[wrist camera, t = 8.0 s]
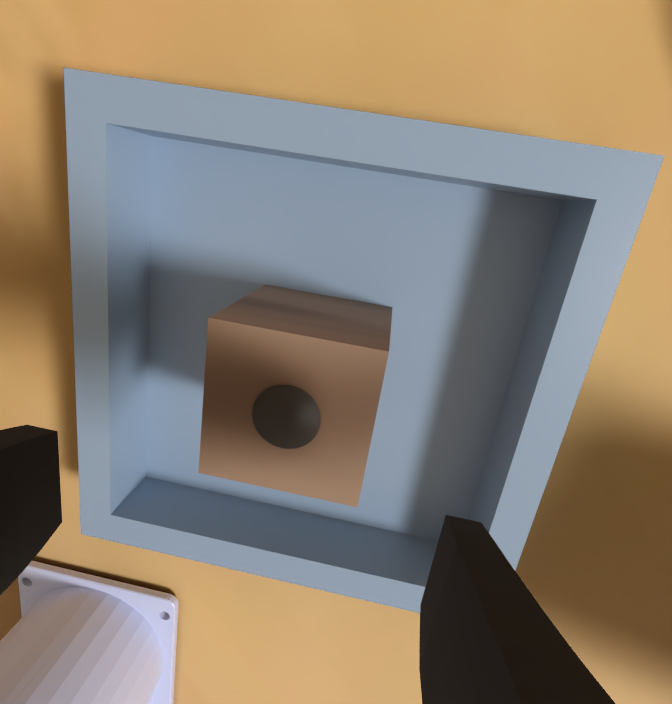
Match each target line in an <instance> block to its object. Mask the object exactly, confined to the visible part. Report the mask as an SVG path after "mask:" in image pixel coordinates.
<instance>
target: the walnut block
mask: <svg viewBox="0 0 672 704" xmlns="http://www.w3.org/2000/svg"><path fill="white" fill-rule="evenodd" d="M392 308H393V307H387V306H382V305H376V304H371V303H365V302H360V301H354V300H349V299H343V298H338V297H332V296H326V295H321V294H315V293H310V292H304V291H299V290H293V289H288V288H282V287H276V286H271V285H264V286H262V287H260V288H259V289H257V290H255V291H253V292H252V293H250V294H248V295H246V296H245V297H243V298H241V299H240V300H238V301H236V302H234V303H233V304H231V305H229V306H228V307H226V308H224V309H222V310H221V311H219V312H217V313H215V314H214V315H212V316H210V317H209V318H208V330H207V345H206V361H205V377H204V393H203V409H202V425H201V441H200V456H199V472H198V473H201V474H206V475H211V476H215V477H220V478H224V479H229V480H234V481H238V482H243V483H247V484H252V485H257V486H261V487H266V488H270V489H275V490H280V491H284V492H289V493H294V494H298V495H303V496H307V497H312V498H317V499H321V500H326V501H330V502H335V503H340V504H344V505H349V506H353V507H358V503H359V498H360V493H361V488H362V483H363V478H364V473H365V468H366V463H367V458H368V453H369V448H370V444H371V439H372V434H373V429H374V424H375V419H376V414H377V409H378V404H379V399H380V394H381V389H382V384H383V379H384V374H385V369H386V365H387V360H388V355H389V346H390V334H391V321H392Z"/></svg>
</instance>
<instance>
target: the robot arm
mask: <svg viewBox="0 0 672 704" xmlns="http://www.w3.org/2000/svg"><path fill="white" fill-rule="evenodd" d="M61 523H62V512H61V493H60V473H59V454H58V434H57V431H53V430H49V429H44V428H39V427H35V426H30V425H24V426H19V427H13V428H9V429H4V430H0V595H1V594H2V593H3V592H4V591H5V590H6V589H7V588H8V586H9V585H10V584H11V583H12V582H13V581H14V580H15V579H16V578H17V577H18V583H19V594H20V604H21V615H22V618H21V619H20V620H19V621H18V622H17V623H16V624H15V626H14V627H13V628H12V629H11V630H10V631H9V632H8V633H7V634H6V635H5V636H4V637H3V639H2V640H1V641H0V704H173V698H174V679H175V660H176V641H177V622H178V600H177V599H176V597H175V596H173V595H172V594H169V593H165V592H161V591H156V590H152V589H148V588H144V587H140V586H136V585H132V584H127V583H123V582H119V581H115V580H111V579H107V578H103V577H98V576H94V575H90V574H86V573H82V572H78V571H73V570H69V569H65V568H61V567H57V566H53V565H49V564H44V563H40V562H36V561H32V560H33V559H34V557H35V556H36V555H37V554H38V552H39V551H40V550H41V549H42V548H43V546H44V545H45V544H46V542H47V541H48V540H49V538H50V537H51V536H52V534H53V533H54V532H55V530H56V529H57V528H58V527H59V525H60V524H61ZM420 679H421V691H422V703H423V704H615V703H614V701H613V700H612V699H611V698H610V696H609V695H608V694H607V693H606V691H605V690H604V689H603V688H602V686H601V685H600V684H599V683H598V682H597V680H596V679H595V678H594V677H593V675H592V674H591V673H590V672H589V670H588V669H587V668H586V667H585V665H584V664H583V663H582V661H581V660H580V659H579V658H578V656H577V655H576V654H575V652H574V651H573V650H572V648H571V647H570V646H569V645H568V643H567V642H566V641H565V639H564V638H563V637H562V635H561V634H560V633H559V631H558V630H557V629H556V627H555V626H554V625H553V623H552V622H551V621H550V619H549V618H548V616H547V615H546V614H545V612H544V611H543V610H542V608H541V607H540V606H539V604H538V603H537V601H536V600H535V599H534V597H533V596H532V594H531V593H530V592H529V590H528V589H527V587H526V586H525V585H524V583H523V582H522V580H521V579H520V577H519V576H518V574H517V573H516V572H515V570H514V569H513V567H512V566H511V564H510V563H509V562H508V560H507V559H506V557H505V556H504V554H503V553H502V551H501V550H500V548H499V547H498V546H497V544H496V543H495V541H494V540H493V538H492V537H491V535H490V534H489V532H488V531H487V530H486V528H485V527H484V525H483V524H482V523H481V522H477V521H473V520H468V519H463V518H459V517H454V516H449V515H446V516H445V519H444V523H443V526H442V530H441V533H440V537H439V540H438V544H437V548H436V551H435V555H434V558H433V562H432V565H431V569H430V573H429V576H428V580H427V583H426V587H425V590H424V594H423V598H422V601H421V605H420Z"/></svg>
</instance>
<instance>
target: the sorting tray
mask: <svg viewBox="0 0 672 704" xmlns="http://www.w3.org/2000/svg"><path fill="white" fill-rule="evenodd" d="M64 89H65V116H66V143H67V170H68V197H69V224H70V252H71V279H72V306H73V333H74V360H75V387H76V414H77V441H78V468H79V495H80V522H81V534H83V535H88V536H92V537H96V538H101V539H105V540H109V541H113V542H118V543H122V544H126V545H130V546H135V547H139V548H143V549H148V550H152V551H156V552H160V553H165V554H169V555H173V556H178V557H182V558H186V559H190V560H195V561H199V562H203V563H208V564H212V565H216V566H220V567H225V568H229V569H233V570H237V571H242V572H246V573H250V574H255V575H259V576H263V577H267V578H272V579H276V580H280V581H285V582H289V583H293V584H297V585H302V586H306V587H310V588H314V589H319V590H323V591H327V592H332V593H336V594H340V595H344V596H349V597H353V598H357V599H362V600H366V601H370V602H374V603H379V604H383V605H387V606H392V607H396V608H400V609H404V610H409V611H413V612H417V613H420V605H421V601H422V598H423V594H424V590H425V587H426V583H427V580H428V576H429V573H430V569H431V565H432V562H433V558H434V555H435V551H436V548H437V544H438V540H439V537H440V533H441V530H442V526H443V523H444V519H445V516H446V515H449V516H454V517H459V518H463V519H468V520H473V521H477V522H481V523H482V524H483V525H484V527H485V528H486V530H487V531H488V532H489V534H490V535H491V537H492V538H493V540H494V541H495V543H496V544H497V546H498V547H499V548H500V550H501V551H502V553H503V554H504V556H505V557H506V559H507V560H508V562H509V563H510V564H511V566H512V567H513V569H514V570H516V568H517V565H518V562H519V559H520V556H521V554H522V551H523V548H524V545H525V543H526V540H527V537H528V534H529V531H530V529H531V526H532V523H533V520H534V518H535V515H536V512H537V509H538V506H539V504H540V501H541V498H542V495H543V492H544V490H545V487H546V484H547V481H548V479H549V476H550V473H551V470H552V467H553V465H554V462H555V459H556V456H557V453H558V451H559V448H560V445H561V442H562V440H563V437H564V434H565V431H566V428H567V426H568V423H569V420H570V417H571V415H572V412H573V409H574V406H575V403H576V401H577V398H578V395H579V392H580V389H581V387H582V384H583V381H584V378H585V376H586V373H587V370H588V367H589V364H590V362H591V359H592V356H593V353H594V351H595V348H596V345H597V342H598V339H599V337H600V334H601V331H602V328H603V325H604V323H605V320H606V317H607V314H608V312H609V309H610V306H611V303H612V300H613V298H614V295H615V292H616V289H617V286H618V284H619V281H620V278H621V275H622V273H623V270H624V267H625V264H626V261H627V259H628V256H629V253H630V250H631V248H632V245H633V242H634V239H635V236H636V234H637V231H638V228H639V225H640V222H641V220H642V217H643V214H644V211H645V209H646V206H647V203H648V200H649V197H650V195H651V192H652V189H653V186H654V184H655V181H656V178H657V175H658V172H659V170H660V167H661V164H662V161H663V158H664V156H662V155H655V154H648V153H641V152H635V151H628V150H621V149H614V148H607V147H601V146H594V145H587V144H580V143H573V142H567V141H560V140H553V139H546V138H539V137H532V136H526V135H519V134H512V133H505V132H498V131H492V130H485V129H478V128H471V127H464V126H458V125H451V124H444V123H437V122H430V121H424V120H417V119H410V118H403V117H396V116H390V115H383V114H376V113H369V112H362V111H356V110H349V109H342V108H335V107H328V106H322V105H315V104H308V103H301V102H294V101H287V100H281V99H274V98H267V97H260V96H253V95H247V94H240V93H233V92H226V91H219V90H213V89H206V88H199V87H192V86H185V85H179V84H172V83H165V82H158V81H151V80H145V79H138V78H131V77H124V76H117V75H111V74H104V73H97V72H90V71H83V70H77V69H70V68H64ZM264 285H271V286H276V287H282V288H288V289H293V290H299V291H304V292H310V293H315V294H321V295H326V296H332V297H338V298H343V299H349V300H354V301H360V302H365V303H371V304H376V305H382V306H387V307H393V308H392V321H391V334H390V346H389V355H388V360H387V365H386V369H385V374H384V379H383V384H382V389H381V394H380V399H379V404H378V409H377V414H376V419H375V424H374V429H373V434H372V439H371V444H370V448H369V453H368V458H367V463H366V468H365V473H364V478H363V483H362V488H361V493H360V498H359V503H358V507H353V506H349V505H344V504H340V503H335V502H330V501H326V500H321V499H317V498H312V497H307V496H303V495H298V494H294V493H289V492H284V491H280V490H275V489H270V488H266V487H261V486H257V485H252V484H247V483H243V482H238V481H234V480H229V479H224V478H220V477H215V476H211V475H206V474H201V473H198V472H199V456H200V441H201V425H202V409H203V393H204V377H205V361H206V345H207V330H208V318H209V317H210V316H212V315H214V314H215V313H217V312H219V311H221V310H222V309H224V308H226V307H228V306H229V305H231V304H233V303H234V302H236V301H238V300H240V299H241V298H243V297H245V296H246V295H248V294H250V293H252V292H253V291H255V290H257V289H259V288H260V287H262V286H264Z"/></svg>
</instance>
